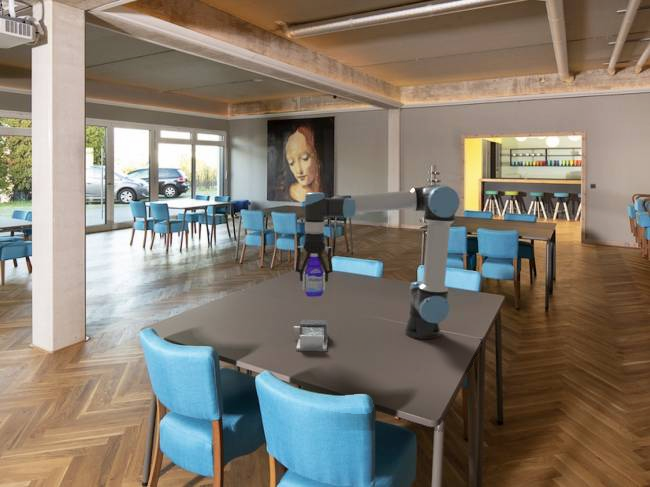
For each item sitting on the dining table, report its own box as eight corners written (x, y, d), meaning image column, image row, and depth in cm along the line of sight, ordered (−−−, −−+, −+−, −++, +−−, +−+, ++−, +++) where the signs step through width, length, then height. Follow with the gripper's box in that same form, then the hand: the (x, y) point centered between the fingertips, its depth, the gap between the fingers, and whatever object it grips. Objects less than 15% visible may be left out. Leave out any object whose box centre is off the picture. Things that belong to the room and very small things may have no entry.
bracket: (327, 341, 202) (327, 327, 201) (326, 351, 191) (326, 336, 190) (298, 340, 202) (298, 326, 201) (296, 350, 192) (296, 335, 191)
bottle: (306, 297, 190) (307, 254, 187) (303, 294, 195) (303, 251, 193) (324, 296, 192) (325, 253, 189) (320, 293, 197) (321, 251, 194)
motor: (328, 335, 208) (328, 320, 207) (327, 340, 202) (327, 324, 201) (294, 335, 209) (294, 319, 208) (293, 340, 203) (292, 324, 202)
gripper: (340, 231, 193) (339, 287, 196) (289, 230, 194) (289, 286, 197) (340, 234, 185) (339, 292, 189) (287, 233, 186) (287, 291, 190)
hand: (313, 289), depth 193 cm, fingers closed on bottle, 7 cm apart
